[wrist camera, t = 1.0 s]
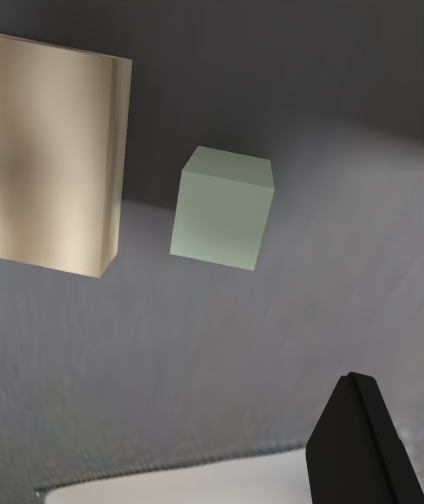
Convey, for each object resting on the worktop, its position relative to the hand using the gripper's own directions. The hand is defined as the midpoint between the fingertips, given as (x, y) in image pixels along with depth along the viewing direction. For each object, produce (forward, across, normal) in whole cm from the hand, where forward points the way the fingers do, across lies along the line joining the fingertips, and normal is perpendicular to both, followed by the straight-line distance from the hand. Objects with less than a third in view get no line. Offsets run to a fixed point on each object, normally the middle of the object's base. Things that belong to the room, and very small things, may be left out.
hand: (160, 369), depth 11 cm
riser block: (+20, +12, +1) cm, 23 cm away
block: (+20, -1, 0) cm, 20 cm away
